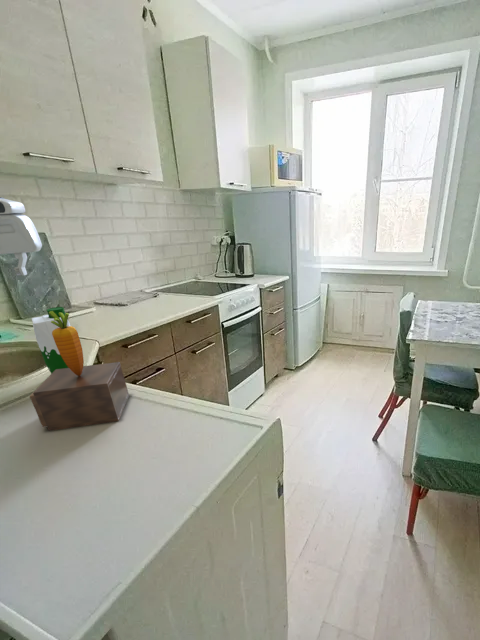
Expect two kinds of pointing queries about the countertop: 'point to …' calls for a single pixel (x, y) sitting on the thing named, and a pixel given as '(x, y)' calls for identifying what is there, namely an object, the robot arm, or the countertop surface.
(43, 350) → the milk carton
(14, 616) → the countertop surface
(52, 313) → the carrot
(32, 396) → the drawer
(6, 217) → the robot arm
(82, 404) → the cabinet
